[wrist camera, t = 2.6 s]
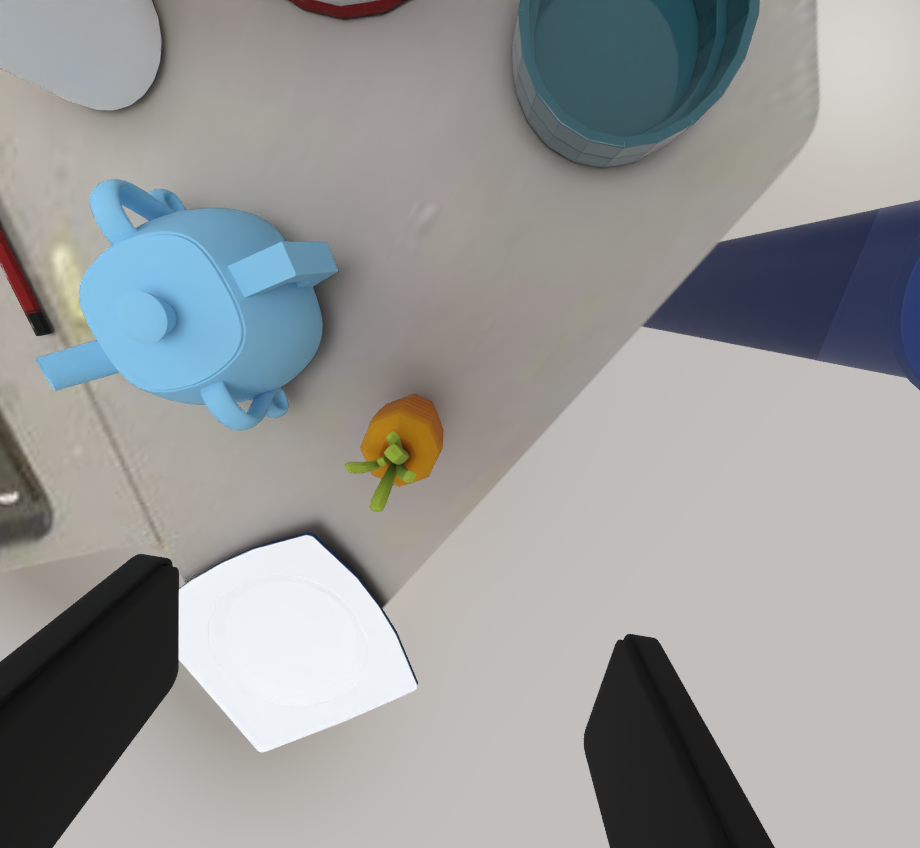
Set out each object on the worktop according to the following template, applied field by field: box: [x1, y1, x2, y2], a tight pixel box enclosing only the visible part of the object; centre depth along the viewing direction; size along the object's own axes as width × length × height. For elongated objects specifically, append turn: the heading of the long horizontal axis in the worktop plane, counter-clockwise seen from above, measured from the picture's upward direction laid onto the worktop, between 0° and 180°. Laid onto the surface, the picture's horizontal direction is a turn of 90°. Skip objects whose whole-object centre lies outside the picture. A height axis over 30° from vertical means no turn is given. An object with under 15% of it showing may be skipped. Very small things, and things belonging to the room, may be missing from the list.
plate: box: [179, 532, 418, 752], centre depth 42 cm, size 20×20×3 cm
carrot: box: [345, 394, 443, 512], centre depth 29 cm, size 5×5×15 cm
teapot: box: [36, 179, 338, 430], centre depth 29 cm, size 20×17×12 cm
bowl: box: [512, 0, 760, 168], centre depth 27 cm, size 13×13×5 cm
